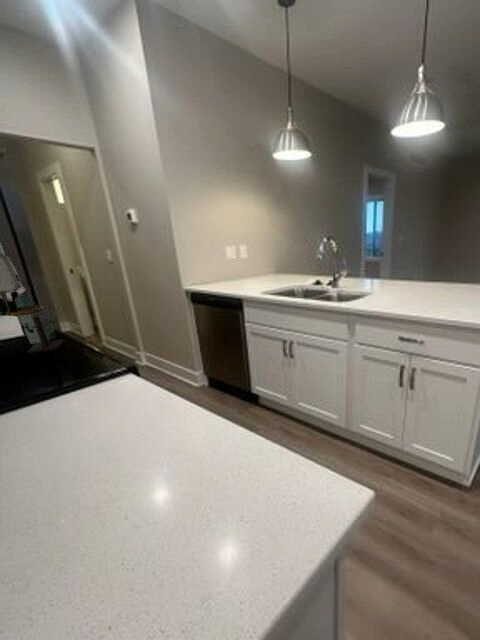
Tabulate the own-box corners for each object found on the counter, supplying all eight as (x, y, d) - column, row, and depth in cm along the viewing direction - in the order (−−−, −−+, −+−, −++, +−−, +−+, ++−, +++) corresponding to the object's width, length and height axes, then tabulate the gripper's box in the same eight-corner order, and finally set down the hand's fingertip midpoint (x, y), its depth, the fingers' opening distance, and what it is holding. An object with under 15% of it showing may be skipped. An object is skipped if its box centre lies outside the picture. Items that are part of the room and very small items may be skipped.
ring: (1, 317, 103) (0, 314, 103) (13, 310, 111) (11, 307, 111) (38, 314, 106) (37, 310, 105) (46, 307, 114) (45, 303, 114)
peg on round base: (28, 355, 119) (15, 323, 114) (36, 347, 127) (25, 316, 122) (58, 350, 122) (47, 319, 117) (64, 342, 129) (54, 313, 125)
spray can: (37, 332, 145) (20, 284, 137) (42, 334, 142) (25, 285, 134) (22, 336, 141) (3, 287, 133) (27, 338, 138) (8, 288, 130)
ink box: (45, 337, 137) (35, 308, 133) (57, 336, 137) (47, 307, 133) (29, 344, 129) (17, 314, 125) (41, 344, 129) (30, 313, 125)
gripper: (-54, 255, 94) (-27, 320, 102) (14, 251, 99) (35, 313, 106) (-40, 253, 101) (-15, 314, 108) (23, 249, 106) (43, 308, 113)
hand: (10, 313), depth 107 cm, fingers closed on ring, 1 cm apart
